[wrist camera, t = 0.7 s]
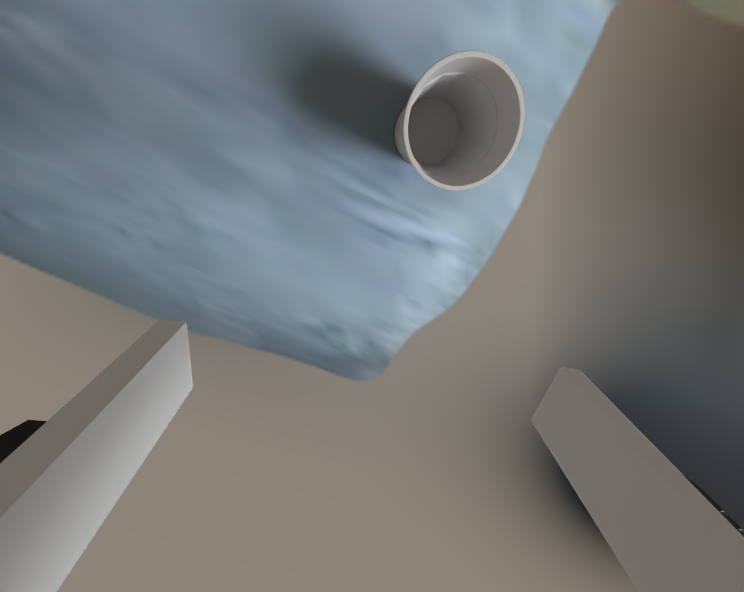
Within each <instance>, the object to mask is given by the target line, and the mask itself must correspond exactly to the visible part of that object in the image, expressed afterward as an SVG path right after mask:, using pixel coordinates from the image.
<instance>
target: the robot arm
mask: <svg viewBox="0 0 744 592" xmlns="http://www.w3.org/2000/svg"><path fill="white" fill-rule="evenodd" d="M192 388H193V382H192V372H191V363H190V354H189V344H188V334H187V324H186V322H182V321H174V320H165V319H160V320H159V321H158V322H157V323H156V324H154V325H153V326H152V327H151V328H150V329H149V330H148V331H147V332H146V333H145V334H144V335H142V336H141V337H140V338H139V339H138V340H137V341H136V342H135V343H133V344H132V345H131V346H130V347H129V348H128V349H127V350H126V351H125V352H124V353H122V354H121V355H120V356H119V357H118V358H117V359H116V360H115V361H114V362H113V363H111V364H110V365H109V366H108V367H107V368H106V369H105V370H103V371H102V372H101V373H100V374H99V375H98V376H97V377H96V378H95V379H93V380H92V381H91V382H90V383H89V384H88V385H87V386H86V387H85V388H83V389H82V390H81V391H80V392H79V393H78V394H77V395H76V396H75V397H74V398H72V399H71V400H70V401H69V402H68V403H67V404H66V405H65V406H64V407H62V408H61V409H60V410H59V411H58V412H57V413H56V414H55V415H54V416H52V417H51V418H50V419H49V420H48V421H35V420H27V421H26V422H24V423H22V424H20V425H18V426H16V427H15V428H13V429H11V430H9V431H7V432H5V433H4V434H2V435H0V592H57V590H58V589H59V587H60V586H61V584H62V583H63V581H64V579H65V578H66V577H67V575H68V574H69V572H70V571H71V569H72V568H73V566H74V565H75V563H76V562H77V560H78V559H79V557H80V556H81V554H82V553H83V551H84V550H85V548H86V547H87V545H88V544H89V542H90V541H91V539H92V538H93V536H94V535H95V533H96V532H97V530H98V529H99V527H100V526H101V524H102V523H103V521H104V520H105V518H106V517H107V515H108V514H109V512H110V511H111V509H112V508H113V506H114V505H115V503H116V502H117V500H118V499H119V497H120V496H121V494H122V493H123V491H124V490H125V488H126V487H127V485H128V484H129V482H130V481H131V479H132V477H133V476H134V474H135V473H136V472H137V470H138V469H139V467H140V466H141V464H142V463H143V461H144V460H145V458H146V457H147V455H148V454H149V452H150V451H151V449H152V448H153V446H154V445H155V443H156V442H157V440H158V439H159V437H160V436H161V434H162V433H163V431H164V430H165V428H166V427H167V425H168V424H169V422H170V421H171V419H172V418H173V416H174V415H175V413H176V412H177V410H178V409H179V407H180V406H181V404H182V403H183V401H184V400H185V398H186V397H187V395H188V394H189V392H190V391H191V389H192ZM531 421H532V423H533V424H534V426H535V427H536V429H537V431H538V432H539V434H540V435H541V437H542V439H543V440H544V442H545V443H546V445H547V447H548V448H549V450H550V451H551V453H552V454H553V456H554V458H555V459H556V461H557V462H558V464H559V466H560V467H561V469H562V470H563V472H564V474H565V475H566V477H567V478H568V480H569V481H570V483H571V485H572V486H573V488H574V490H575V491H576V493H577V494H578V496H579V497H580V499H581V501H582V502H583V504H584V505H585V507H586V508H587V510H588V512H589V513H590V515H591V517H592V518H593V520H594V521H595V523H596V524H597V526H598V528H599V529H600V531H601V532H602V534H603V536H604V537H605V539H606V540H607V542H608V544H609V545H610V546H611V548H612V550H613V552H614V553H615V555H616V556H617V558H618V560H619V561H620V563H621V564H622V566H623V567H624V569H625V571H626V572H627V574H628V575H629V577H630V579H631V580H632V582H633V583H634V585H635V587H636V588H637V590H638V591H639V592H744V533H743V532H742V529H741V528H740V527H739V526H738V525H737V524H736V522H735V521H733V520H732V519H731V518H730V516H728V515H725V514H724V510H723V509H721V508H720V506H718V504H717V503H716V502H715V501H714V500H713V499H711V497H709V495H708V494H706V492H705V491H703V489H701V488H700V487H699V486H697V485H696V484H695V483H693V482H692V481H691V480H689V479H688V478H687V477H686V476H684V475H683V474H682V473H681V472H679V470H678V469H676V467H675V466H674V465H673V464H672V463H671V462H670V461H669V460H668V459H667V458H666V457H665V456H664V455H663V454H662V453H661V452H660V451H659V450H658V449H657V448H656V447H655V446H654V445H653V444H652V443H651V442H650V441H649V440H648V439H647V438H646V437H645V436H644V435H643V434H642V433H641V432H640V431H639V430H638V429H637V428H636V427H635V426H634V425H633V424H632V423H631V422H630V421H629V420H628V418H626V416H625V415H624V414H623V413H622V412H621V411H620V410H619V409H618V408H617V407H616V406H615V405H614V404H613V403H612V402H611V401H610V400H609V399H608V398H607V397H606V396H605V395H604V394H603V393H602V392H601V391H600V390H599V389H598V388H597V387H596V386H595V385H594V384H593V383H592V382H591V381H590V380H589V379H588V378H587V377H586V376H585V375H584V374H583V373H582V372H581V371H580V370H579V369H571V368H563V367H561V368H560V370H559V371H558V373H557V375H556V377H555V378H554V380H553V382H552V384H551V385H550V387H549V389H548V391H547V392H546V394H545V396H544V398H543V399H542V401H541V403H540V405H539V406H538V408H537V410H536V412H535V414H534V415H533V417H532V419H531Z"/></svg>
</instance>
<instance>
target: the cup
mask: <svg viewBox="0 0 744 592" xmlns="http://www.w3.org/2000/svg"><path fill="white" fill-rule="evenodd" d="M524 114H525V109H524V99H523V94H522V90H521V87H520V84H519V82H518V80H517V78H516V76H515V75H514V73H513V72H512V70H511V69H510V68H509V67H508V66H507V65H506V64H505V63H504V62H503V61H501V60H500V59H499V58H497V57H495V56H493V55H491V54H488V53H485V52H481V51H462V52H458V53H454V54H452V55H449V56H447V57H445V58H443V59H441V60H440V61H438V62H437V63H436V64H434V65H433V66H432V67H431V68H430V69H429V70H427V72H426V73H425V74H424V75H423V76H422V77H421V79H420V80H419V81H418V83H417V84H416V86H415V88H414V89H413V91H412V93H411V95H410V98H409V100H408V102H407V105H406V107H405V108H404V109H403V110H402V112H401V114H400V115H399V118H398V120H397V123H396V128H395V141H396V145H397V148H398V150H399V152H400V154H401V155H402V157H403V158H404V159H405V160H406V161H407V162H409V163H410V164H411V165H412V166H413V167H414V168H415V170H416V171H417V172H418V173H419V174H420V176H421V177H423V178H424V179H425V180H426V181H428V182H429V183H431V184H432V185H434V186H437V187H439V188H442V189H447V190H465V189H470V188H473V187H476V186H478V185H481V184H483V183H484V182H486V181H488V180H489V179H491V178H492V177H493V176H495V175H496V174H497V173H498V172H499V171H500V170H501V169H502V168H503V167H504V166H505V165H506V163H507V162H508V161H509V159H510V158H511V156H512V155H513V153H514V151H515V149H516V147H517V145H518V142H519V140H520V137H521V133H522V129H523V124H524Z"/></svg>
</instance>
